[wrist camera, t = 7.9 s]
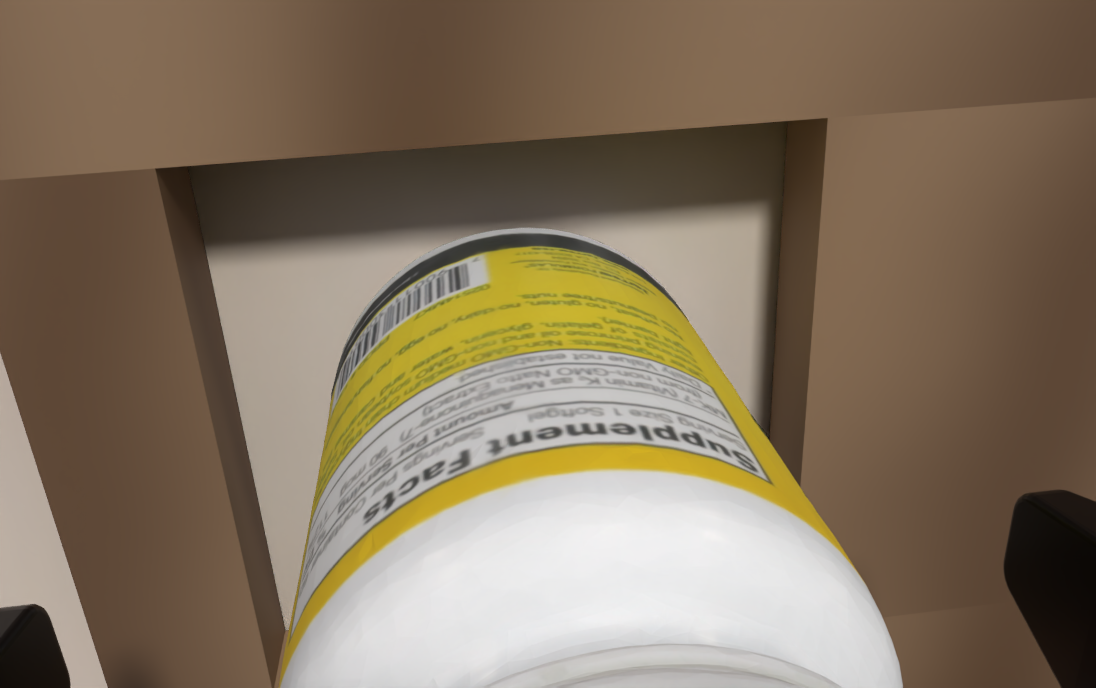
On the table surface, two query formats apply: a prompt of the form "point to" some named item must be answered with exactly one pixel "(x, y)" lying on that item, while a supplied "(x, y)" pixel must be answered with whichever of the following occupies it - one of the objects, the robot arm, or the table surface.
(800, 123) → the jack panel
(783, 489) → the supplement bottle
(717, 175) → the table surface
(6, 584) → the table surface
